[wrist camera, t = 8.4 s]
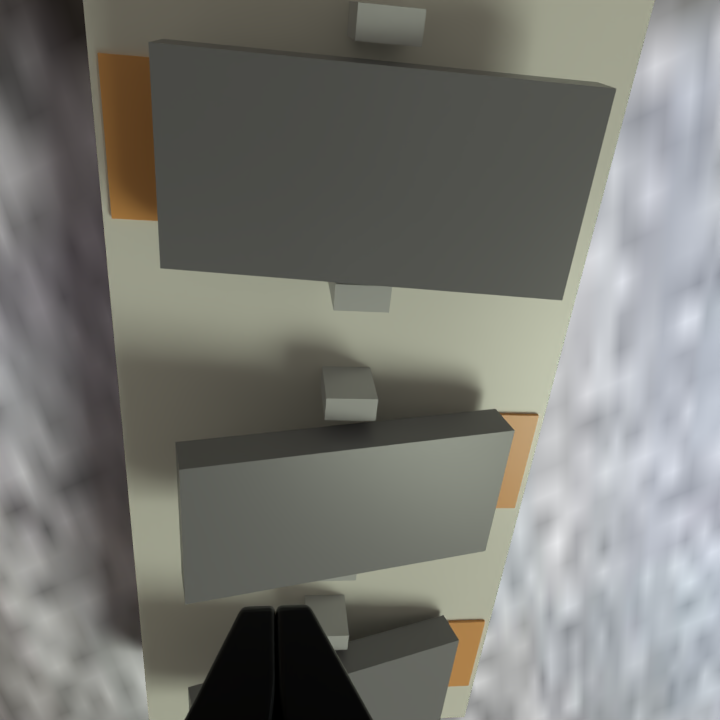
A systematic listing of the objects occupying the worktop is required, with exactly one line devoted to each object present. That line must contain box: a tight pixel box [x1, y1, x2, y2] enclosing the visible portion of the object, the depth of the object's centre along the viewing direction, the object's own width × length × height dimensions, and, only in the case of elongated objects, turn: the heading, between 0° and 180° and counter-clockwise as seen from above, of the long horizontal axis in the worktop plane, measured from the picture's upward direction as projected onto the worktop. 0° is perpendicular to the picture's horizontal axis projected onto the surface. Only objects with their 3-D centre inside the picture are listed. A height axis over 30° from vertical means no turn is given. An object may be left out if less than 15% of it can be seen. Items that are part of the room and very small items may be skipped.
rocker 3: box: [188, 615, 459, 720], centre depth 20 cm, size 8×4×1 cm, turn 84°
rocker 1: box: [148, 39, 616, 300], centre depth 13 cm, size 8×4×1 cm, turn 85°
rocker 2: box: [175, 409, 515, 605], centre depth 17 cm, size 8×4×1 cm, turn 84°
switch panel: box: [83, 0, 655, 720], centre depth 19 cm, size 11×23×4 cm, turn 175°
